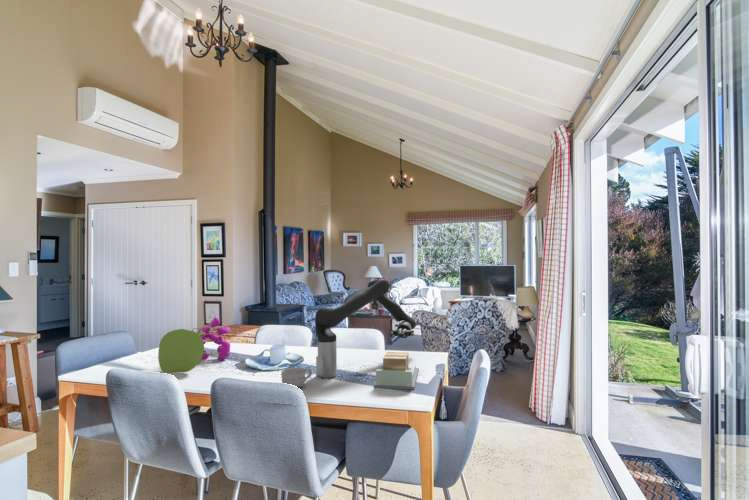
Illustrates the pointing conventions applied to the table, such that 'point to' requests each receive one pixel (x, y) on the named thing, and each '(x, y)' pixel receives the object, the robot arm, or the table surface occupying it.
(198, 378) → the table surface
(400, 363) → the wood grain cube
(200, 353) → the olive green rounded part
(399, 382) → the roller track
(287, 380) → the teacup
